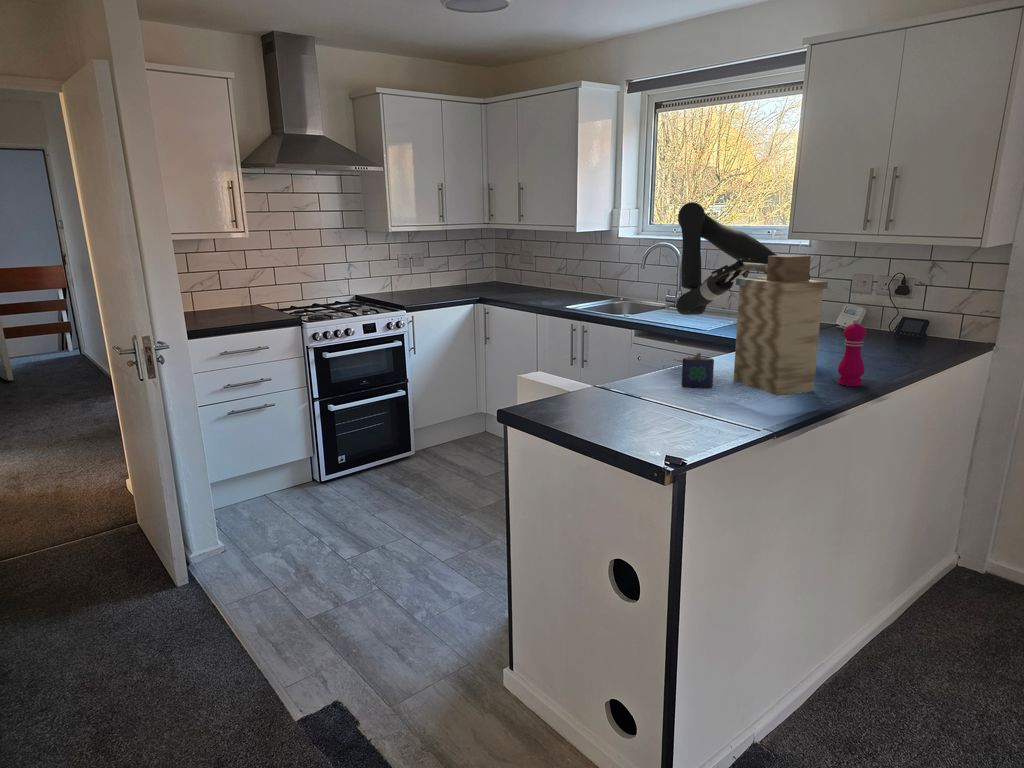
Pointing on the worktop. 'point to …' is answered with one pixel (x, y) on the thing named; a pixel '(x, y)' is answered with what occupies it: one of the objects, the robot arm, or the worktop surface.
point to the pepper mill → (852, 355)
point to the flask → (697, 372)
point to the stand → (778, 334)
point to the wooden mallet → (783, 268)
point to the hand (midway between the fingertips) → (746, 261)
